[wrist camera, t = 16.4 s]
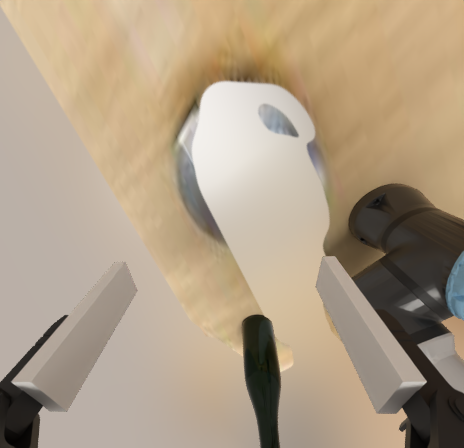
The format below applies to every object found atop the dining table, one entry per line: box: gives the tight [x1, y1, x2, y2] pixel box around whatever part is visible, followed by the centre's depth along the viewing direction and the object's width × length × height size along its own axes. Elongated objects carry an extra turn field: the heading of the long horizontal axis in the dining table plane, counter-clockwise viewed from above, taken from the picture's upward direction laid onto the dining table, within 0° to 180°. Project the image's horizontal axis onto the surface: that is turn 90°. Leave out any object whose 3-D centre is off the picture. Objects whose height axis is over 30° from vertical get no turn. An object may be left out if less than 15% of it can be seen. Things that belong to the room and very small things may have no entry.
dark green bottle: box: [242, 316, 281, 448], centre depth 50 cm, size 10×10×33 cm
